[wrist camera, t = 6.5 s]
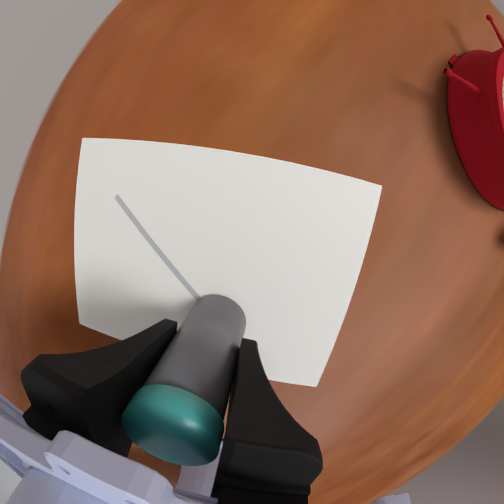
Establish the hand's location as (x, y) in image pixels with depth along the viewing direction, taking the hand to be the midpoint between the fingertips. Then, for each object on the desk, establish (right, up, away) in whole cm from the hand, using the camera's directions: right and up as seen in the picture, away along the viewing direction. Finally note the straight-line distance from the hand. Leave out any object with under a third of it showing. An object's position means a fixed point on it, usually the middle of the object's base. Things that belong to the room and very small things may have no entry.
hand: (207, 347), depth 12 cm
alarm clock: (+19, +11, -1) cm, 22 cm away
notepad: (-1, +4, +2) cm, 4 cm away
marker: (0, +1, +2) cm, 2 cm away
